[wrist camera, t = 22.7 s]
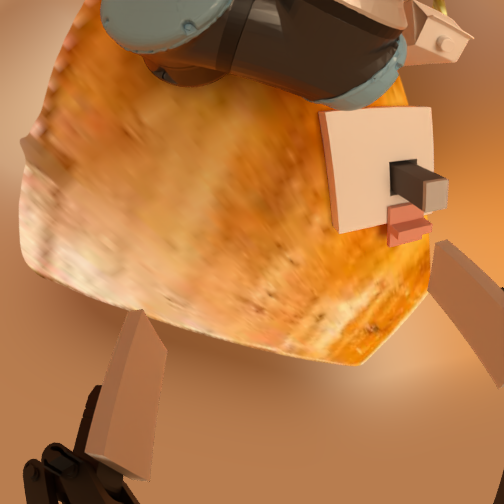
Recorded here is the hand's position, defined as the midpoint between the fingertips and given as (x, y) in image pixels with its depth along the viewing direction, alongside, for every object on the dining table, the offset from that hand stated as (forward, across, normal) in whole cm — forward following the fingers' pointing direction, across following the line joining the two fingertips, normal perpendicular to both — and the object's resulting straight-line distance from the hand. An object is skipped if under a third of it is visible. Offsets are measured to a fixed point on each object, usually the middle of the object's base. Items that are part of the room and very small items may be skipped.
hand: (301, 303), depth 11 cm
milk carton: (+35, +26, +16) cm, 46 cm away
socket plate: (+35, +22, -5) cm, 41 cm away
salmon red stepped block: (+31, +25, -16) cm, 43 cm away
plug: (+34, +25, -7) cm, 43 cm away
